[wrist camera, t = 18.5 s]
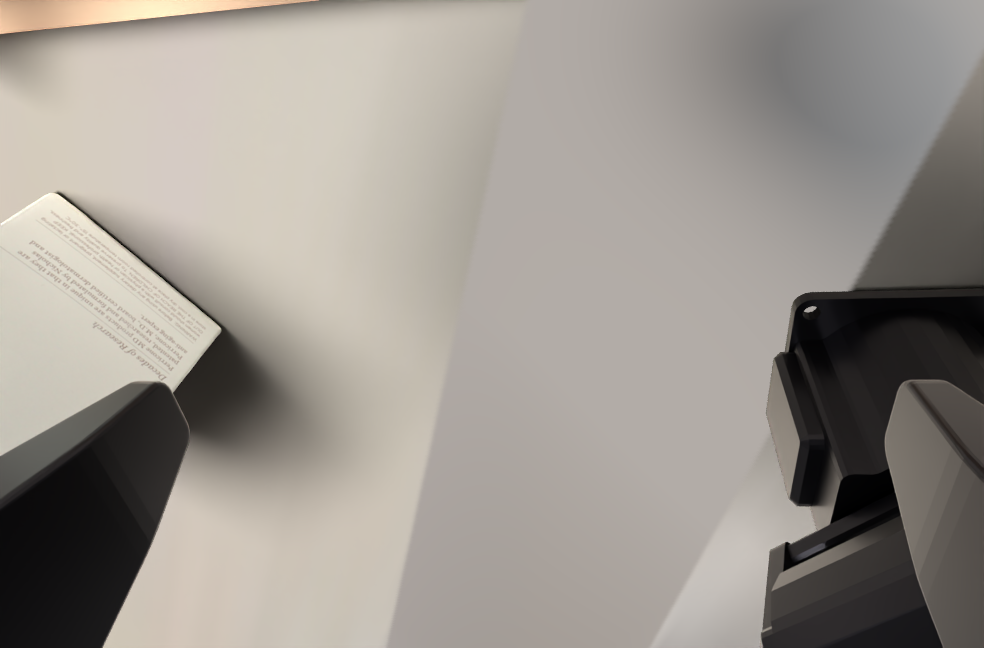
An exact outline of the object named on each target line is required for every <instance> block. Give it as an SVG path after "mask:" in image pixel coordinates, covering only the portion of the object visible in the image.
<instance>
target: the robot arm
mask: <svg viewBox="0 0 984 648" xmlns="http://www.w3.org/2000/svg"><path fill="white" fill-rule="evenodd" d="M811 306H816V307H817V308H816V309H815V310H814V311H813V312H809V313H807V312H804V310H805V309H806V308H808V307H811ZM766 415H767V419H768V422H769V426H770V430H771V434H772V438H773V441H774V445H775V449H776V453H777V456H778V460H779V464H780V468H781V472H782V475H783V479H784V483H785V487H786V490H787V494H788V498H789V499H790V500H791V501H792V502H793V503H794V504H795V505H796V506H810V509H811V512H812V516H813V519H814V523H815V526H816V529H817V531H815V532H814V533H812V534H810V535H808V536H806V537H804V538H802V539H800V540H798V541H796V542H794V543H792V544H790V543H788V542H785V543H783V544H781V545H779V546H777V547H775V548H773V549H771V550H770V555H769V566H768V576H767V587H766V598H765V609H764V619H763V630H762V632H761V638H760V648H984V288H982V289H938V290H893V291H849V292H810V293H805V294H803V295H801V296H799V297H797V298H796V299H795V300H794V302H793V305H792V308H791V315H790V322H789V328H788V335H787V342H786V348H785V352H780V353H779V354H778V355H777V356H776V357H775V358H774V360H773V367H772V374H771V382H770V388H769V395H768V402H767V410H766ZM189 439H190V429H189V425H188V423H187V421H186V419H185V417H184V415H183V413H182V411H181V409H180V406H179V404H178V402H177V400H176V398H175V396H174V394H173V392H172V390H171V389H170V387H169V386H168V385H167V384H165V383H164V382H161V381H134V382H131V383H129V384H127V385H125V386H123V387H122V388H120V389H118V390H116V391H114V392H113V393H111V394H109V395H107V396H106V397H104V398H102V399H100V400H98V401H97V402H95V403H93V404H91V405H90V406H88V407H86V408H84V409H82V410H81V411H79V412H77V413H75V414H74V415H72V416H70V417H68V418H66V419H65V420H63V421H61V422H59V423H58V424H56V425H54V426H52V427H51V428H49V429H47V430H45V431H43V432H42V433H40V434H38V435H36V436H35V437H33V438H31V439H29V440H27V441H26V442H24V443H22V444H20V445H19V446H17V447H15V448H13V449H11V450H10V451H8V452H6V453H4V454H3V455H1V456H0V648H103V646H104V644H105V642H106V640H107V637H108V635H109V633H110V631H111V629H112V627H113V625H114V623H115V621H116V619H117V617H118V615H119V612H120V610H121V608H122V606H123V604H124V602H125V600H126V598H127V596H128V594H129V592H130V590H131V588H132V585H133V583H134V581H135V579H136V577H137V575H138V573H139V571H140V569H141V567H142V565H143V563H144V560H145V558H146V556H147V554H148V552H149V549H150V547H151V545H152V542H153V540H154V537H155V535H156V532H157V530H158V527H159V524H160V522H161V519H162V516H163V513H164V511H165V508H166V505H167V502H168V500H169V497H170V494H171V491H172V489H173V486H174V483H175V480H176V478H177V475H178V472H179V469H180V467H181V464H182V461H183V458H184V456H185V453H186V450H187V447H188V444H189Z"/></svg>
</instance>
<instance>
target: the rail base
mask: <svg viewBox="0 0 984 648" xmlns="http://www.w3.org/2000/svg"><path fill="white" fill-rule="evenodd" d="M307 1H317V0H0V34H4V33H13V32H23V31H32V30H42V29H51V28H61V27H70V26H80V25H89V24H99V23H108V22H118V21H127V20H137V19H146V18H156V17H165V16H175V15H184V14H194V13H203V12H212V11H222V10H231V9H241V8H250V7H260V6H269V5H279V4H288V3H298V2H307Z"/></svg>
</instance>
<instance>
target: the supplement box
mask: <svg viewBox="0 0 984 648" xmlns="http://www.w3.org/2000/svg"><path fill="white" fill-rule="evenodd" d="M220 333H221V328H220V327H219V326H218V325H217V324H216V323H215V322H213V321H212V320H211V319H210V318H209V317H208V316H206V315H205V314H204V313H203V312H202V311H200V310H199V309H198V308H197V307H196V306H195V305H193V304H192V303H191V302H190V301H189V300H187V299H186V298H185V297H184V296H182V295H181V294H180V293H179V292H178V291H176V290H175V289H174V288H173V287H171V286H170V285H169V284H168V283H167V282H166V281H164V280H163V279H162V278H161V277H160V276H158V275H157V274H156V273H155V272H153V271H152V270H151V269H150V268H148V267H147V266H146V265H145V264H144V263H143V262H142V261H140V260H139V259H138V258H137V257H136V256H134V255H133V254H132V253H131V252H130V251H128V250H127V249H126V248H125V247H123V246H122V245H121V244H120V243H118V242H117V241H116V240H115V239H113V238H112V237H111V236H110V235H109V234H108V233H106V232H105V231H104V230H103V229H101V228H100V227H99V226H98V225H96V224H95V223H94V222H93V221H91V220H90V219H89V218H88V217H87V216H86V215H85V214H83V213H82V212H81V211H79V210H78V209H77V208H76V207H75V206H73V205H72V204H70V203H69V202H68V201H66V200H65V199H64V198H63V197H61V196H60V195H58V194H55V193H48V194H46V195H45V196H43V197H41V198H40V199H38V200H36V201H35V202H33V203H32V204H30V205H29V206H27V207H26V208H24V209H23V210H21V211H19V212H18V213H16V214H15V215H13V216H12V217H10V218H9V219H7V220H6V221H4V222H3V223H1V224H0V456H1V455H3V454H4V453H6V452H8V451H10V450H11V449H13V448H15V447H17V446H19V445H20V444H22V443H24V442H26V441H27V440H29V439H31V438H33V437H35V436H36V435H38V434H40V433H42V432H43V431H45V430H47V429H49V428H51V427H52V426H54V425H56V424H58V423H59V422H61V421H63V420H65V419H66V418H68V417H70V416H72V415H74V414H75V413H77V412H79V411H81V410H82V409H84V408H86V407H88V406H90V405H91V404H93V403H95V402H97V401H98V400H100V399H102V398H104V397H106V396H107V395H109V394H111V393H113V392H114V391H116V390H118V389H120V388H122V387H123V386H125V385H127V384H129V383H131V382H134V381H161V382H164V383H165V384H167V385H168V386H169V387H170V389H171V390H172V392H174V391H175V389H176V388H177V387H178V385H179V384H180V383H181V382H182V380H183V379H184V378H185V377H186V375H187V374H188V373H189V372H190V370H191V369H192V368H193V367H194V365H195V364H196V363H197V361H198V360H199V359H200V357H201V356H202V355H203V354H204V352H205V351H206V350H207V348H208V347H209V346H210V345H211V343H212V342H213V341H214V340H215V338H216V337H217V336H218V335H219V334H220Z"/></svg>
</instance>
